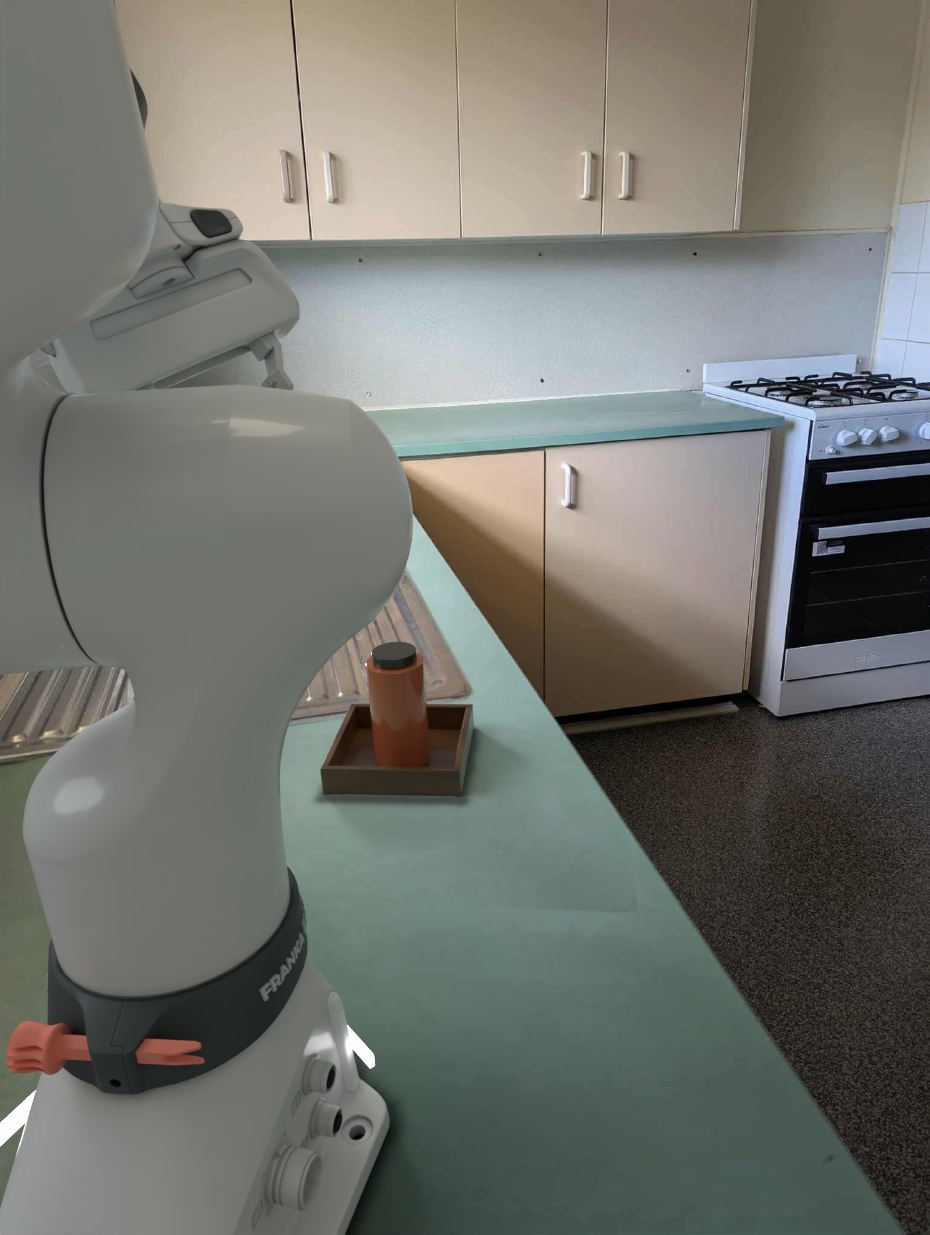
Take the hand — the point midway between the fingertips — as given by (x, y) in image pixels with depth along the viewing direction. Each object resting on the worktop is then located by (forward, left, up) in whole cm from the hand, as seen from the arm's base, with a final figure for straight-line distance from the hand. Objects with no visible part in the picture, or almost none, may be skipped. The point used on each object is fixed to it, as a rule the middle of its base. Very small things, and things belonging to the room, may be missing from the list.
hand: (239, 417), depth 69 cm
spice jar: (+2, -10, -32) cm, 34 cm away
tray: (+2, -10, -33) cm, 34 cm away
